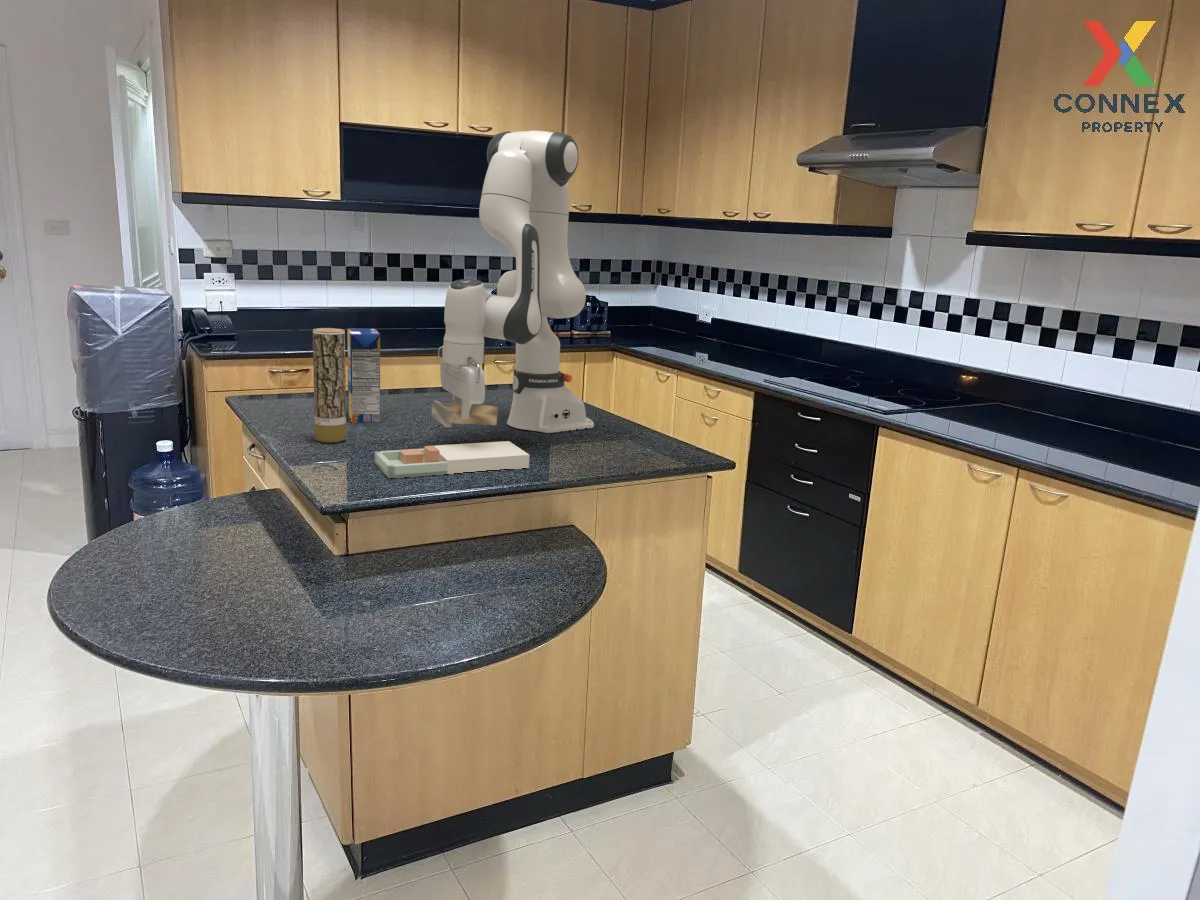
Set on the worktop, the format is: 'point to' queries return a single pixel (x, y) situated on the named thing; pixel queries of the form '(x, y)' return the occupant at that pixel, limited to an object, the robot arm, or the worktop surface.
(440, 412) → the scraper
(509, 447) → the board
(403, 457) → the tile
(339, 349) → the paper tube
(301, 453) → the worktop surface
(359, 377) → the beverage box
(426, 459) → the tile
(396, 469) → the tray
